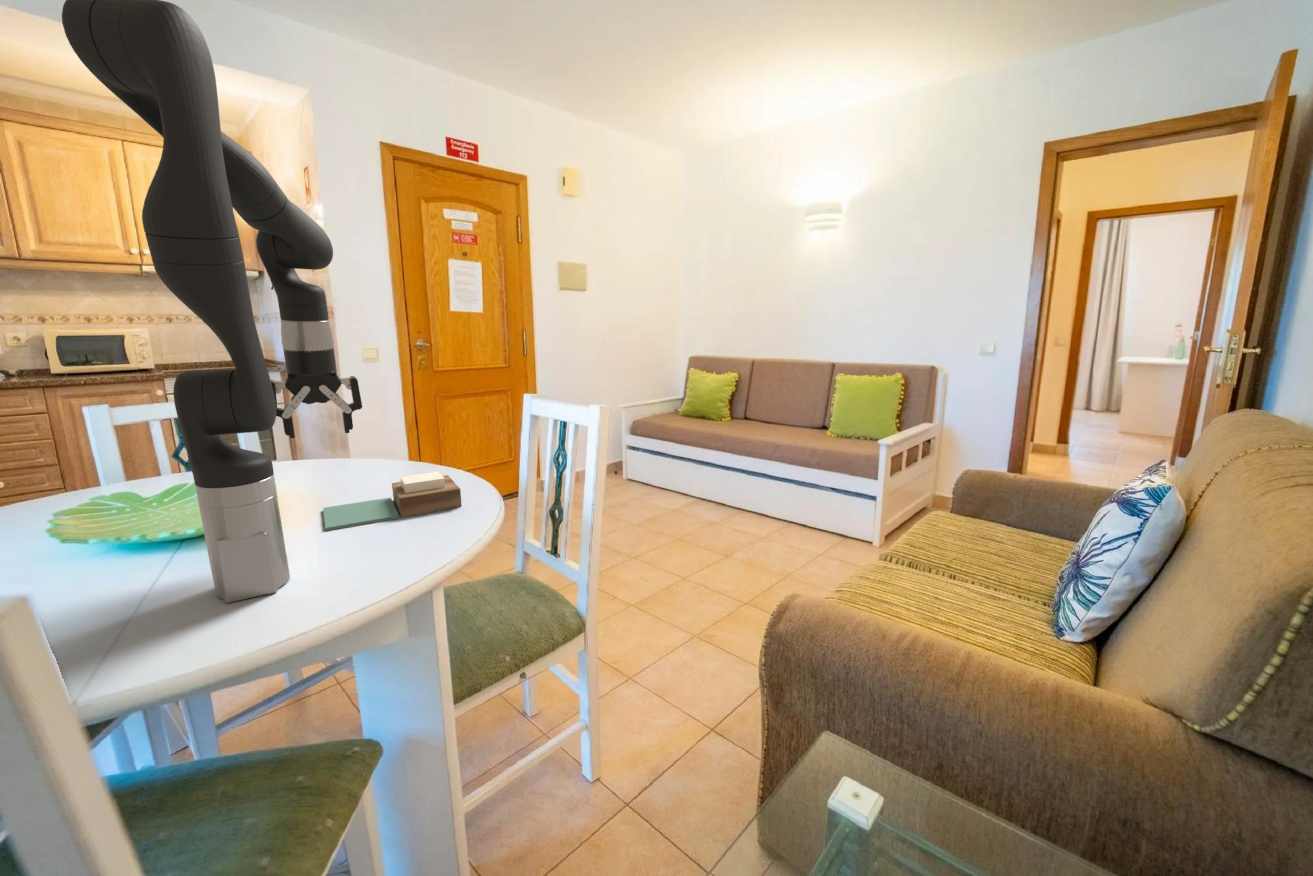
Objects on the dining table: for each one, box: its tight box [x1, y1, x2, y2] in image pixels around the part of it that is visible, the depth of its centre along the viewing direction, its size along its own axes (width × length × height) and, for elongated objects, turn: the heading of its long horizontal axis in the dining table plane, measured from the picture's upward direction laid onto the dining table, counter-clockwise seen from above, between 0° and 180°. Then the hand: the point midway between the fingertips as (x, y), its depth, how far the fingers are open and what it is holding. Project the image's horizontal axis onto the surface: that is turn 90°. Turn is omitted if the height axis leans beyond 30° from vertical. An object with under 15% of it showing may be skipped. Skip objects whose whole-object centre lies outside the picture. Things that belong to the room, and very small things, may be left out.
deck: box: [391, 474, 462, 518], centre depth 118 cm, size 12×12×4 cm
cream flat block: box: [399, 471, 445, 493], centre depth 117 cm, size 6×8×2 cm
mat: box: [322, 496, 400, 532], centre depth 112 cm, size 13×13×1 cm
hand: (320, 434), depth 98 cm, fingers open, 8 cm apart
